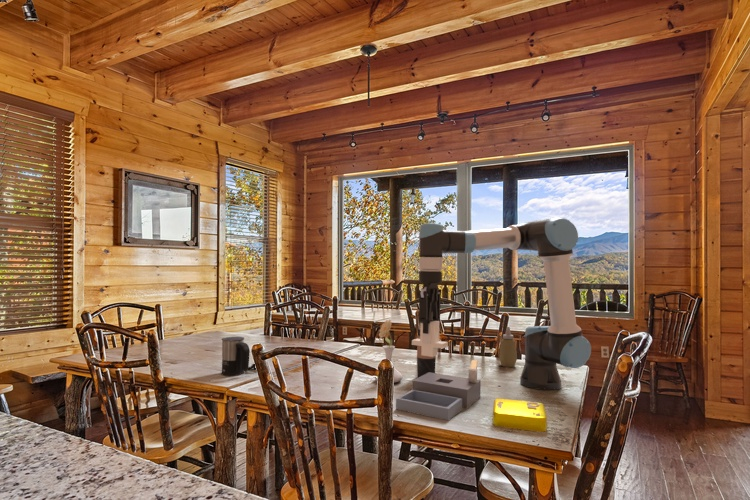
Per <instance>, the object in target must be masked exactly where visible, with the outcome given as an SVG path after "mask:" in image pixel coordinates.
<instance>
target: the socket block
mask: <svg viewBox="0 0 750 500" xmlns="http://www.w3.org/2000/svg"><path fill="white" fill-rule="evenodd" d="M481 382H482V381H481V379H477V382H476V383H471V382H469V381H468V377H463V376H462V377H461V376H456V375H449V374H443V373H436V372H435V373H431V372H428V373H426V374H424V375H423V376H421V377H419V378H418V377H417V378H415V379H413V380H412V388H411V390H418V391H423V392H429V393H435V394H440V395H446V396H451V397H457V398H462V408H465V409H468V408H469V407H471V406H472V405H473V404H474V403H475V402H477V401H478V400H479V399H480V398H481V390H482V389H481V385H482V383H481Z"/></svg>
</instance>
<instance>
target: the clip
mask: <svg viewBox="0 0 750 500" xmlns="http://www.w3.org/2000/svg"><path fill="white" fill-rule="evenodd" d="M467 378H468V381H469V382H471V383H476V382H477V380H478V360H477V359H471V362H470V368H468V377H467Z"/></svg>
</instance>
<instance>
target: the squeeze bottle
mask: <svg viewBox="0 0 750 500" xmlns="http://www.w3.org/2000/svg"><path fill="white" fill-rule="evenodd" d="M499 345H500V347H499V355H498V357H499V358H498V359H499V362H500V365H501V366H502V367H505V368H514V367H515V366H516V363H517V360H518V355H517V345H516V340H515V339H514V335H513V334H512V332H511V328H510V327H509V326H507V327H506V331H505V334H502V339H501V340H500V344H499Z"/></svg>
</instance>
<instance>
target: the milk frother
mask: <svg viewBox="0 0 750 500" xmlns="http://www.w3.org/2000/svg"><path fill="white" fill-rule="evenodd" d="M244 340H245V337H243V336H227V337H223V338H221V346H222V347H221V359H222V360H221V372H220V374H221V376H225V377H226V376H227V377H230V376H231V377H232V376H233V377H234V376H240V375H243V374H244V373H245V372H246V371H249V370H250V371H251V370H252V369H253V370H256V369H255V364H254V363H252V364H251V366H250V353H251V351H250V350H251V349H250V347H249V345H248V344H247V343H246V342H245V341H244Z"/></svg>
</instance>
